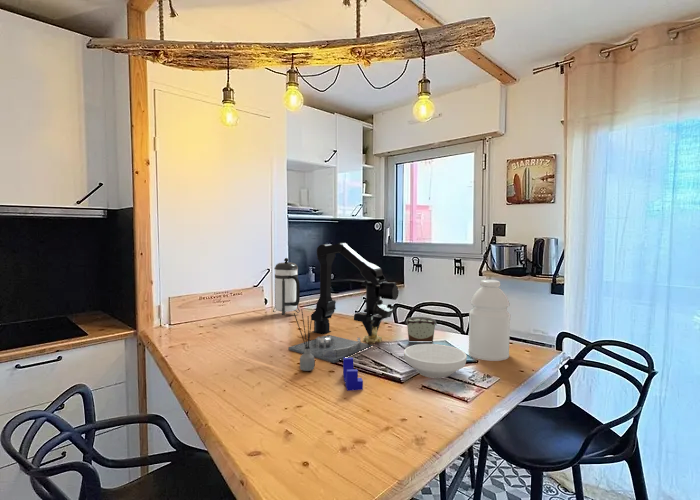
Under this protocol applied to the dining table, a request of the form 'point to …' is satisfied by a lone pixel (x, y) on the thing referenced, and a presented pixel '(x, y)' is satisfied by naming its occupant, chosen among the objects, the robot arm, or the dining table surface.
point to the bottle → (489, 323)
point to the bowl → (435, 359)
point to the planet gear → (373, 336)
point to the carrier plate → (331, 348)
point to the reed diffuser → (306, 351)
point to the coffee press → (286, 287)
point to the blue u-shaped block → (351, 375)
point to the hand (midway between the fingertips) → (372, 334)
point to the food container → (420, 328)
